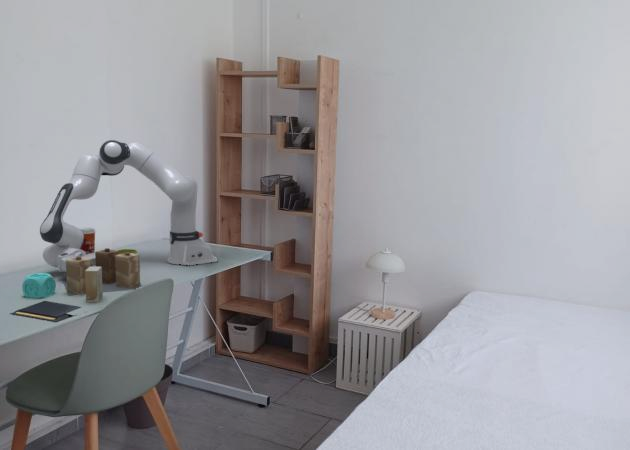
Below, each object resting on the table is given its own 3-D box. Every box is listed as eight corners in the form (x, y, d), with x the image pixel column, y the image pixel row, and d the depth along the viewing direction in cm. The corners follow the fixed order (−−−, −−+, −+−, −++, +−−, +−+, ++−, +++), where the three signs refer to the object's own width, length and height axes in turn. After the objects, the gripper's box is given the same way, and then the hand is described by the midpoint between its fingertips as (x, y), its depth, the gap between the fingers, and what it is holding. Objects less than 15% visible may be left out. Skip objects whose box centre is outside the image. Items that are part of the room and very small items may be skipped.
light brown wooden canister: (80, 288, 226) (79, 254, 224) (92, 290, 223) (91, 256, 221) (67, 291, 221) (65, 257, 218) (79, 294, 218) (77, 259, 215)
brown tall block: (128, 282, 235) (127, 250, 233) (140, 284, 232) (139, 252, 230) (116, 286, 230) (115, 252, 228) (128, 288, 227) (127, 254, 225)
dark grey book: (89, 306, 204) (54, 319, 190) (89, 311, 204) (54, 325, 191) (44, 298, 212) (8, 310, 198) (45, 303, 212) (8, 315, 198)
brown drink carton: (108, 278, 240) (107, 246, 238) (119, 280, 238) (119, 248, 235) (96, 281, 235) (95, 249, 233) (107, 284, 232) (106, 251, 230)
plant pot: (128, 275, 250) (128, 254, 249) (109, 272, 254) (109, 252, 252) (142, 270, 259) (142, 250, 258) (124, 267, 262) (123, 248, 261)
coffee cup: (90, 264, 266) (89, 231, 263) (73, 263, 267) (71, 230, 265) (100, 260, 274) (99, 228, 271) (84, 259, 275) (82, 226, 273)
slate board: (134, 278, 246) (134, 275, 246) (144, 290, 228) (144, 288, 228) (63, 284, 234) (62, 282, 233) (68, 298, 216) (68, 295, 216)
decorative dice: (37, 293, 221) (36, 272, 220) (56, 295, 220) (55, 273, 218) (22, 299, 214) (21, 277, 212) (42, 301, 212) (41, 279, 211)
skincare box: (90, 299, 216) (89, 266, 214) (103, 299, 216) (102, 266, 214) (85, 304, 210) (84, 270, 208) (98, 304, 210) (97, 270, 208)
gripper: (96, 262, 252) (120, 266, 246) (54, 272, 234) (79, 277, 228) (95, 247, 251) (120, 251, 245) (54, 256, 233) (79, 260, 227)
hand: (100, 264), depth 236 cm, fingers open, 8 cm apart
